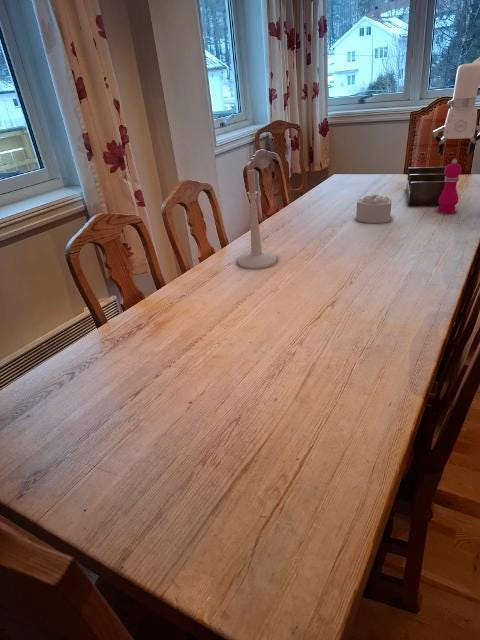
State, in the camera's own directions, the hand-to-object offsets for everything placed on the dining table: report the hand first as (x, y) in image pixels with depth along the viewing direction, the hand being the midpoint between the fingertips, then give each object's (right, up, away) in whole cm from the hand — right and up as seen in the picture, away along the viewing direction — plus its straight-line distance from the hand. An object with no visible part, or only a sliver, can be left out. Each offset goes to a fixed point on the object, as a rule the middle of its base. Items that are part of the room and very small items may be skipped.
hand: (454, 154), depth 161 cm
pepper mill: (+2, -19, +11) cm, 22 cm away
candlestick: (-75, -42, -16) cm, 88 cm away
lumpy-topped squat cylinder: (-27, -22, +11) cm, 37 cm away
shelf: (+2, -8, +30) cm, 31 cm away
